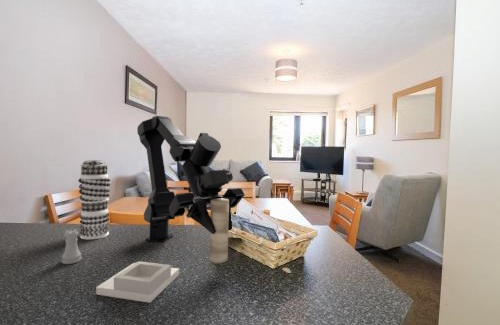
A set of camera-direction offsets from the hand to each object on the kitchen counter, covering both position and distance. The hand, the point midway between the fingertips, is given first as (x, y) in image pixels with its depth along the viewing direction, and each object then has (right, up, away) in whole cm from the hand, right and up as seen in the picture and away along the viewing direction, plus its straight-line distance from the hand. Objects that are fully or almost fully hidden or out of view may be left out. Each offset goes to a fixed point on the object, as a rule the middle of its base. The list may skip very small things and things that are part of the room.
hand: (222, 231), depth 62 cm
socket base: (-18, -11, -3) cm, 21 cm away
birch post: (-1, -7, +1) cm, 7 cm away
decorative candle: (-46, -9, +28) cm, 54 cm away
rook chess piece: (-40, -10, +8) cm, 42 cm away
